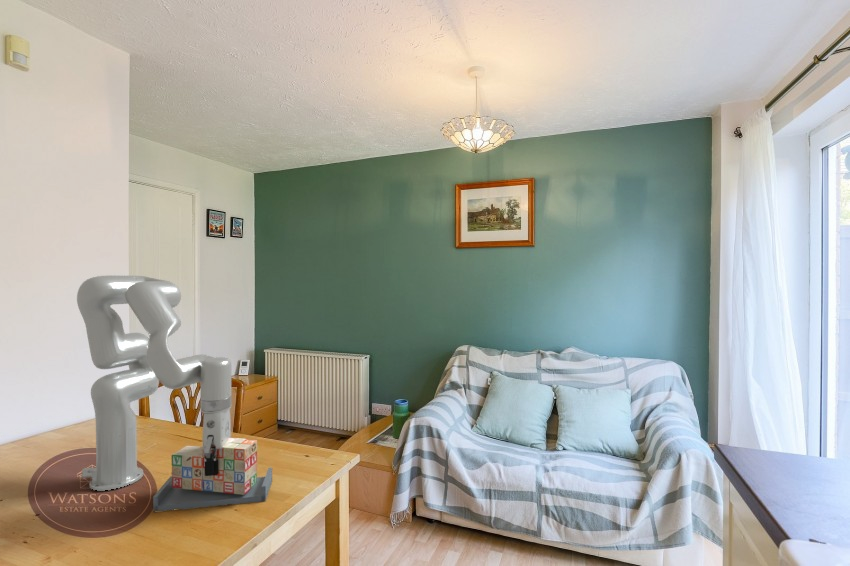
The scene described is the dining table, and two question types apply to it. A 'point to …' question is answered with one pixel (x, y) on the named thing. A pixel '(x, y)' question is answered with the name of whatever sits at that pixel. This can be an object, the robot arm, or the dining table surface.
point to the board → (208, 496)
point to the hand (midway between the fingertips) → (216, 467)
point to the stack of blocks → (232, 468)
